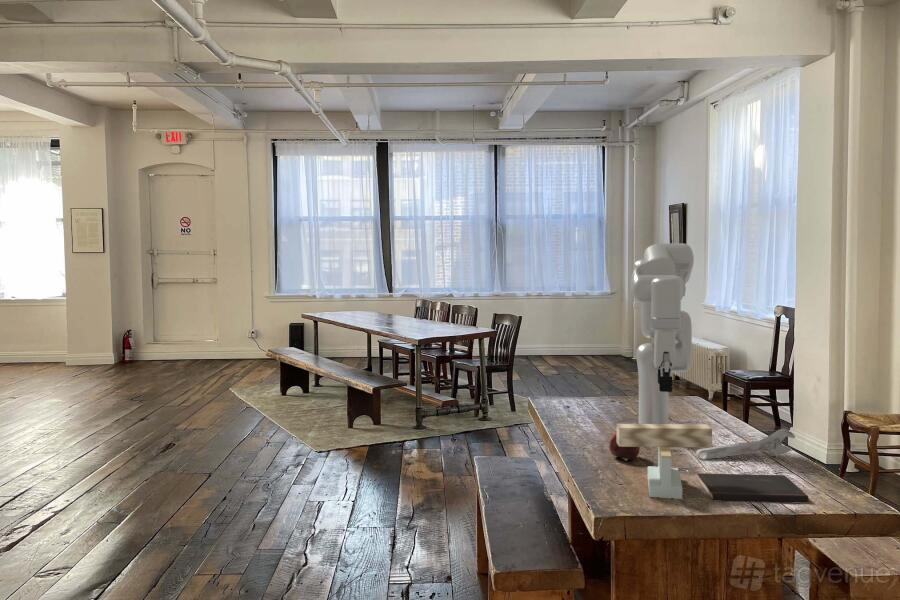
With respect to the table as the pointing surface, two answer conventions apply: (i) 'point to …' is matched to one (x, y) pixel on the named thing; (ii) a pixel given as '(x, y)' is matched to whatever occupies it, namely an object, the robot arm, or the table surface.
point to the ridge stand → (664, 477)
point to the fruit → (623, 450)
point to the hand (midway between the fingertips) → (664, 387)
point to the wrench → (751, 446)
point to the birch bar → (664, 435)
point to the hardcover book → (751, 488)
